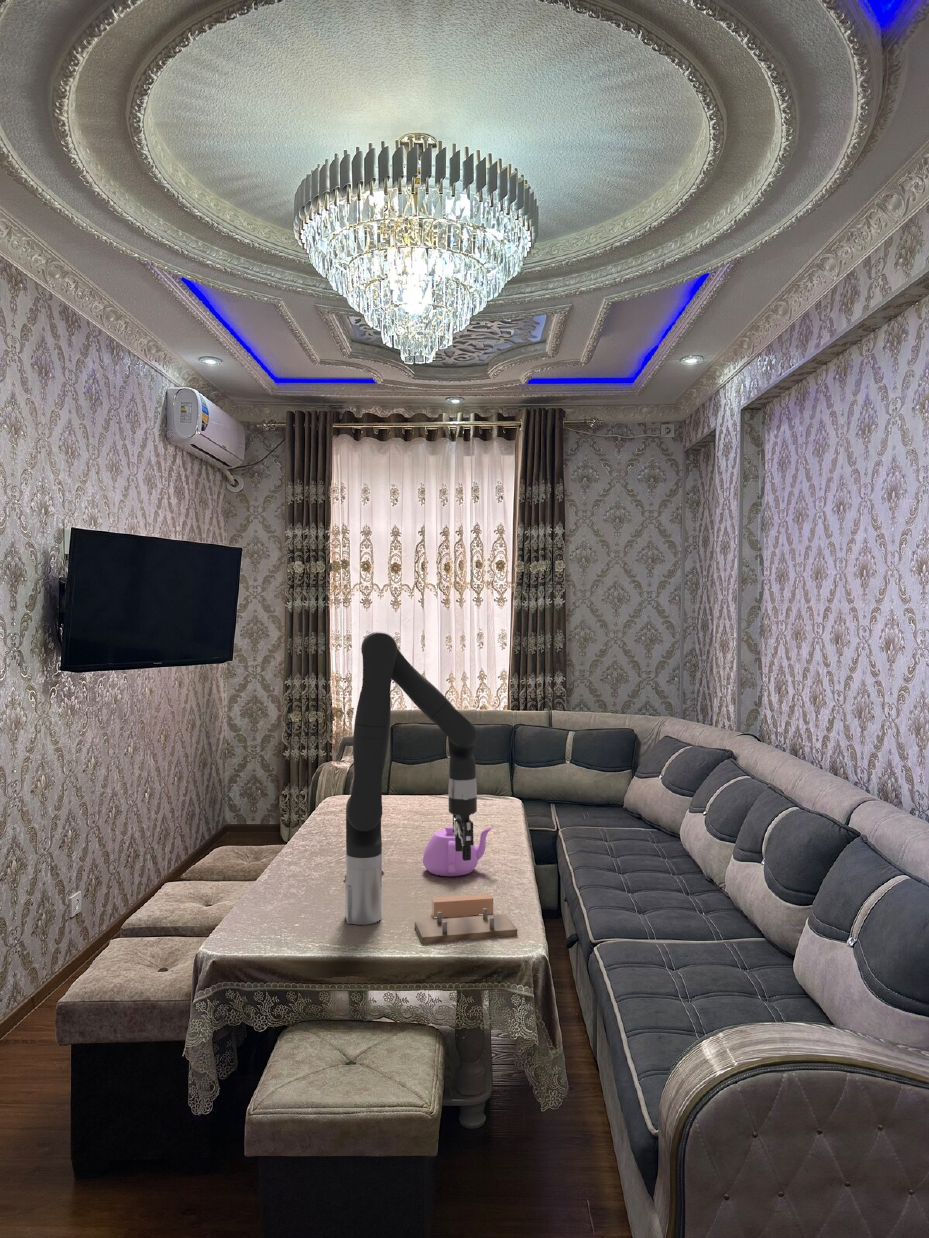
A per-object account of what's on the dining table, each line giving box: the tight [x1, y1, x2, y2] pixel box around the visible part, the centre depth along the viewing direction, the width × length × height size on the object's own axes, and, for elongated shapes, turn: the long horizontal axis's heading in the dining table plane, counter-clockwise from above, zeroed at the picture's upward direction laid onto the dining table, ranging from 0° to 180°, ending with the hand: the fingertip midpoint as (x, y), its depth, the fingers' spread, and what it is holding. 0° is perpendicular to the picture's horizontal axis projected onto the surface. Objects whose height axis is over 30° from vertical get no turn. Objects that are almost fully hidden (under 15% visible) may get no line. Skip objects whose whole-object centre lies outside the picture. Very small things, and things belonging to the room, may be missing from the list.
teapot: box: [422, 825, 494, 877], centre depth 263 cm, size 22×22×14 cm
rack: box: [414, 908, 518, 944], centre depth 213 cm, size 24×11×4 cm, turn 103°
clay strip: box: [431, 893, 494, 918], centre depth 225 cm, size 16×4×4 cm, turn 101°
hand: (462, 855), depth 225 cm, fingers open, 8 cm apart
